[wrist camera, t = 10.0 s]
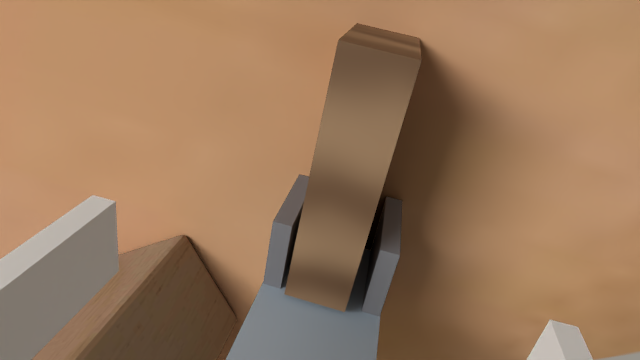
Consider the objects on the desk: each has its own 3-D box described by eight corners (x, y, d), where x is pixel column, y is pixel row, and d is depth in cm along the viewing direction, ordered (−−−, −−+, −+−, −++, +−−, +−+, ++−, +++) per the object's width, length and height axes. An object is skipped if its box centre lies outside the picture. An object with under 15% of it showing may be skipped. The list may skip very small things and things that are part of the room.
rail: (355, 22, 27) (336, 39, 20) (420, 38, 27) (423, 60, 20) (309, 228, 35) (282, 294, 28) (359, 242, 34) (346, 312, 27)
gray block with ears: (298, 174, 33) (208, 333, 18) (402, 200, 32) (395, 388, 17) (278, 285, 38) (195, 479, 23) (368, 310, 37) (340, 526, 22)
